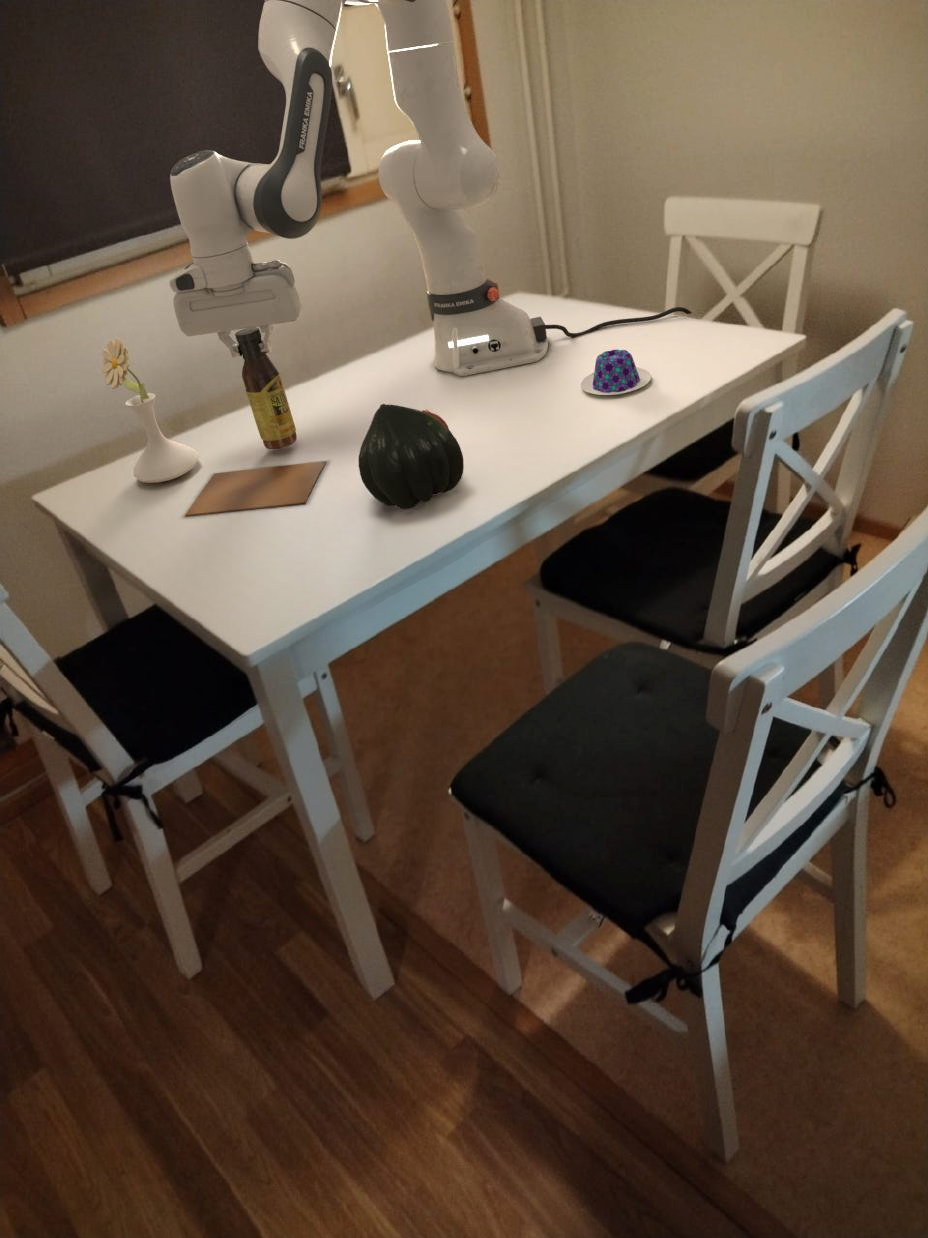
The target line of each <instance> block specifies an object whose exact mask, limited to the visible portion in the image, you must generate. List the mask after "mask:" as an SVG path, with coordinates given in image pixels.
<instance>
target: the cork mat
mask: <svg viewBox="0 0 928 1238" xmlns="http://www.w3.org/2000/svg"><path fill="white" fill-rule="evenodd" d="M326 463H327V461H326V460H322V461H321V460H320V461H313V462H304V463H295V464H286V465H277V466H270V467H269V466H268V467H260V468H251V469H242V470H234V471H223V472H215V473H213V474H212V475H211V477H210V478H209V480H208V481H207V483H206V484H205V486H204V487H203V488H202V490H201V492H200V493H199V494H198V496H197V497H196V499H195V500H194V501H193V503H192V504H191V505H190V507H189V509H188V510H187V511H186V513H185V514H184V515H185V517H192V516H202V515H210V514H220V513H230V512H241V511H249V510H251V511H252V510H259V509H260V510H261V509H270V508H279V507H287V506H288V507H289V506H297V505H306V503H307V501H308V499H309V497H310V495H311V494H312V491H313V489H314V487H315V485H316V483H317V482H318V480H319V477H320V475H321V474H322V471H323V470H324V467H325V465H326Z"/></svg>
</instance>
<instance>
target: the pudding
mask: <svg viewBox="0 0 928 1238" xmlns="http://www.w3.org/2000/svg"><path fill="white" fill-rule="evenodd" d="M651 379H652V374H651V373H650V372H649V371H648V370H647V369H644V368H642V367H637V366H636V363H635V360H634V357H633V355H632V354H631V352H629V351H628V350H626V349H611V350H606V351H603V352H602V353H599V355H597V357H596V359H595V364H594V371H593V372H591V373H590V374H588V375H587V376H585V377H584V378H583V379H582V380H581V382H580V388H581V389H582V390H583V391H584V392H585V393H586V392H587V393H588V394H593V395H599V396H613V395H622V394H626V393H630V392H633V391H636V390H639V389H641V388H643V387H644V386H646V385H647V384H648V383H649V382H650V381H651Z"/></svg>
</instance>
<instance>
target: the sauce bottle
mask: <svg viewBox="0 0 928 1238" xmlns="http://www.w3.org/2000/svg"><path fill="white" fill-rule="evenodd" d="M234 335H235V339H236V343H239V345H240V348H241V351H242V359H243V360H244V361H243V364H242V365H243V366H242V368H241V369H242V370H241V378H242V382H243V384H244V388H245V393H246V396H247V399H248V403H249V405H250V409H251V412H252V415H253V419H254V421H255V422H254V423H255V425H256V428H257V430H258V434H259V437H260V439H261V440H262V443H263V446H264V448H265V449H267V450H282V449H283V448H287V447H289V446H291V445H293V444H294V443H296V441H297V438H298V435H297V428H296V424H295V422H294V421H295V420H294V417H293V414H292V411H291V408H290V405H289V404H290V403H289V401H288V397H287V393H286V391H285V387H284V384H283V381H282V377H281V374H280V371H279V370H278V369H277V367H276V365H275V364H274V363H273V361H272V360H271V359H270V357H269V356H268V355H267V353H261V351H260V350H261V349H260V347H259V343H260V341H261V340H262V332H261V329H260V327H252V328H245V329H239V330H237V331H236V332H235V334H234Z"/></svg>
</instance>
